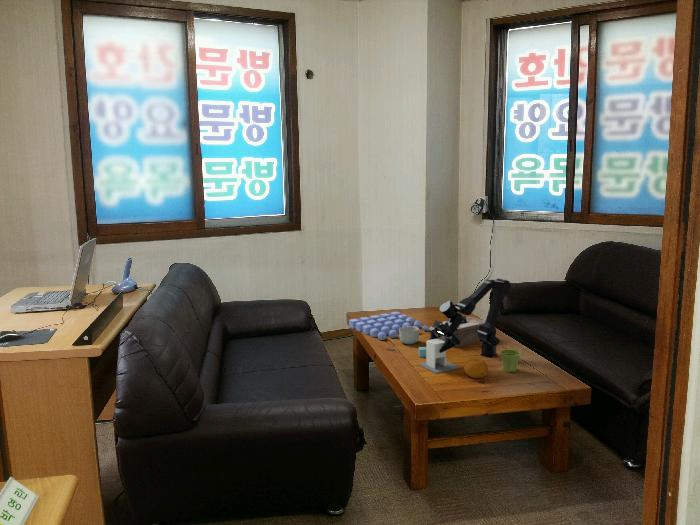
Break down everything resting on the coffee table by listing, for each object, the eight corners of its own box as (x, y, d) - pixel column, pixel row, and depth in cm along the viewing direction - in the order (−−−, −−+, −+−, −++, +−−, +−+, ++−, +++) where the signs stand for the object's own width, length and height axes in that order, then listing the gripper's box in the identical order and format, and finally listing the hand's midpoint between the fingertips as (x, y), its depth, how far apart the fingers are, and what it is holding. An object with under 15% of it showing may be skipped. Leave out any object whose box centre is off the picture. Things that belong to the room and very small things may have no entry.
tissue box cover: (453, 348, 308) (453, 329, 306) (435, 341, 320) (435, 323, 318) (488, 339, 322) (489, 322, 320) (470, 333, 334) (470, 316, 332)
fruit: (468, 370, 274) (468, 354, 273) (490, 374, 269) (491, 357, 268) (460, 377, 265) (461, 361, 264) (483, 382, 260) (483, 364, 259)
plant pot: (516, 375, 268) (517, 356, 266) (496, 371, 273) (497, 353, 271) (522, 368, 276) (523, 351, 274) (502, 365, 281) (503, 348, 279)
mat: (442, 359, 290) (442, 358, 290) (459, 368, 278) (459, 367, 277) (418, 364, 283) (418, 363, 283) (435, 373, 271) (435, 372, 271)
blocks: (396, 319, 367) (396, 311, 367) (431, 332, 338) (431, 323, 337) (348, 327, 350) (348, 319, 349) (380, 342, 321) (380, 333, 320)
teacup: (418, 346, 311) (418, 331, 310) (397, 345, 313) (397, 330, 312) (420, 338, 325) (420, 324, 323) (400, 337, 327) (400, 323, 326)
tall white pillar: (437, 362, 285) (437, 338, 283) (445, 366, 279) (446, 342, 277) (426, 364, 282) (426, 340, 280) (434, 368, 276) (434, 344, 274)
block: (426, 354, 298) (426, 347, 298) (427, 357, 294) (427, 349, 294) (418, 354, 298) (418, 347, 298) (419, 357, 294) (419, 349, 294)
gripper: (432, 309, 286) (413, 335, 283) (455, 318, 270) (435, 345, 267) (444, 323, 291) (426, 348, 288) (469, 332, 275) (449, 359, 272)
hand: (434, 349), depth 278 cm, fingers open, 9 cm apart
